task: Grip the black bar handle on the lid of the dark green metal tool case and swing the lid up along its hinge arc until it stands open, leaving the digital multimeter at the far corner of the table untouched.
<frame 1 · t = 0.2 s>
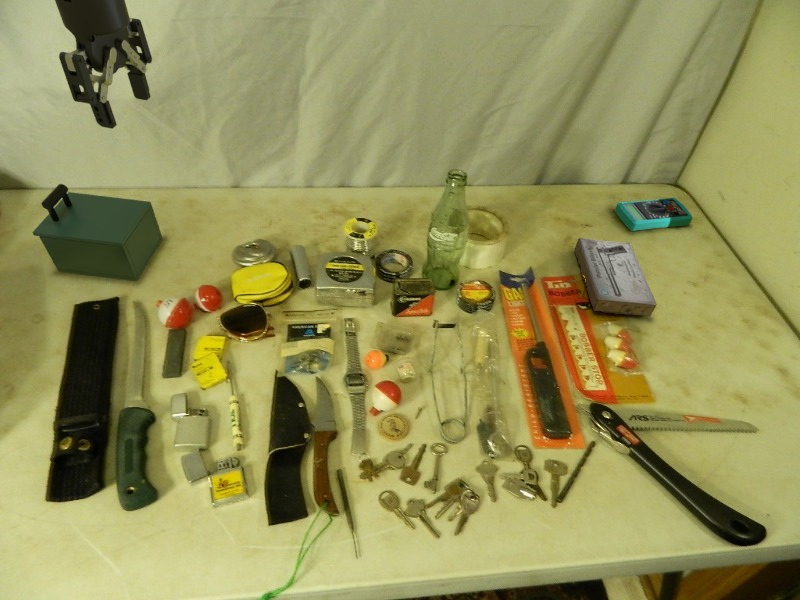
hand: (126, 112, 74), 28 cm above the table, tool pointing down, fingers open, 8 cm apart
box: (608, 283, 98), on the table
digital multimeter: (650, 219, 113), on the table
case: (112, 255, 94), on the table
lid: (90, 208, 86), point 10 cm above the table, hinge at 0.0°
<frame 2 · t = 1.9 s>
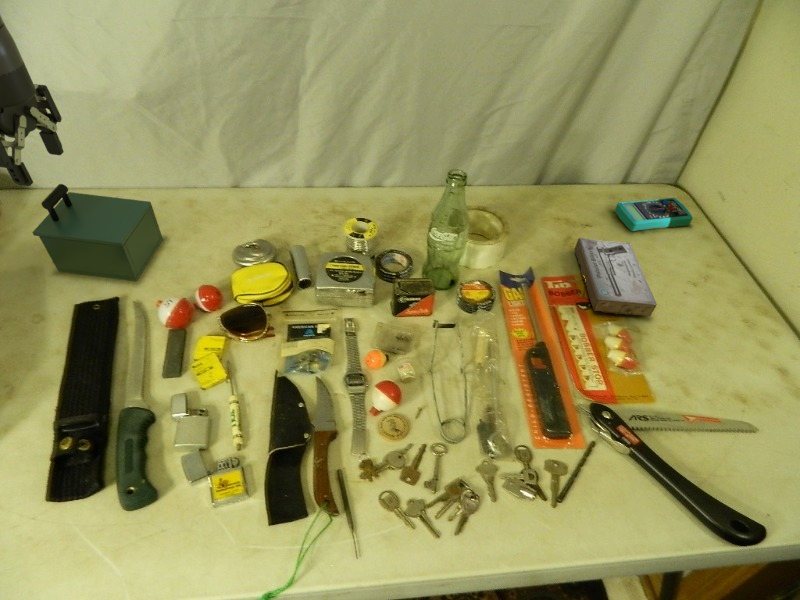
hand: (41, 168, 82), 17 cm above the table, tool pointing down, fingers open, 8 cm apart
nothing on the table moved.
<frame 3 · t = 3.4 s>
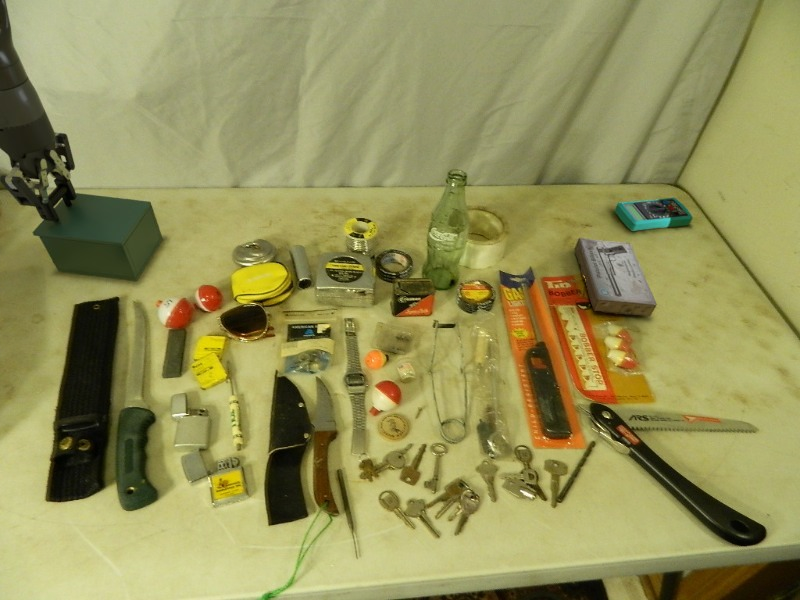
hand: (60, 208, 87), 9 cm above the table, tool pointing down, fingers closed on lid, 5 cm apart
lid: (90, 208, 86), point 10 cm above the table, hinge at 0.0°, touching gripper
everything else where it was.
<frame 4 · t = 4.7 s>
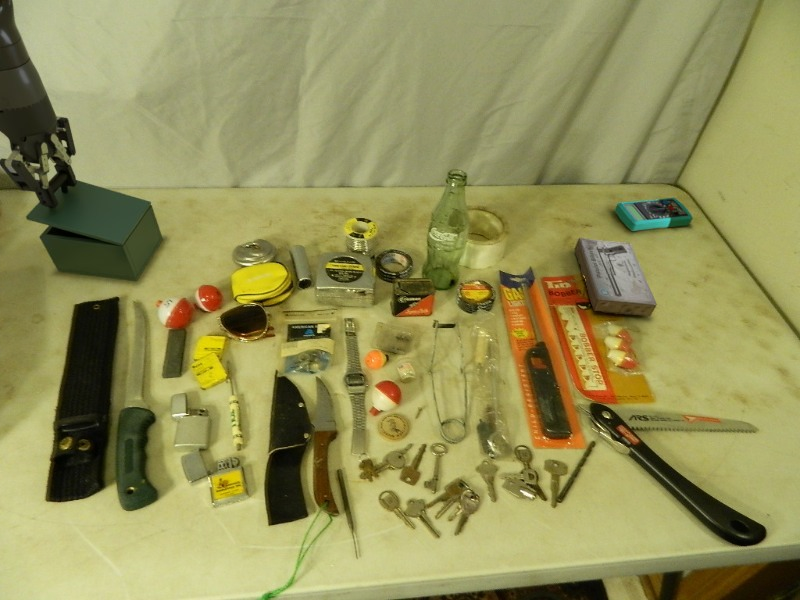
hand: (60, 194, 85), 12 cm above the table, tool pointing down, fingers closed on lid, 5 cm apart
lid: (90, 200, 85), point 12 cm above the table, hinge at 13.2°, touching gripper
everything else where it was.
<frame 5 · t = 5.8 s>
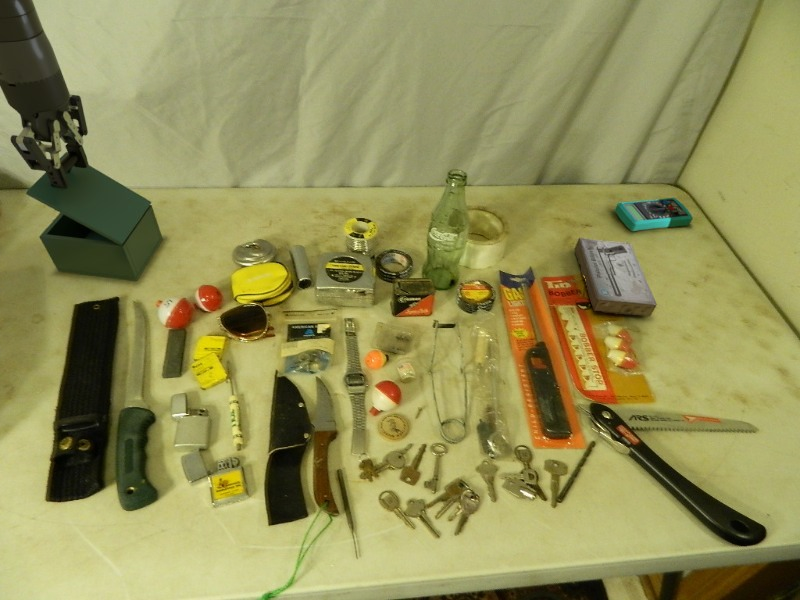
hand: (72, 176, 82), 16 cm above the table, tool pointing down, fingers closed on lid, 5 cm apart
lid: (97, 190, 84), point 14 cm above the table, hinge at 35.3°, touching gripper
everything else where it was.
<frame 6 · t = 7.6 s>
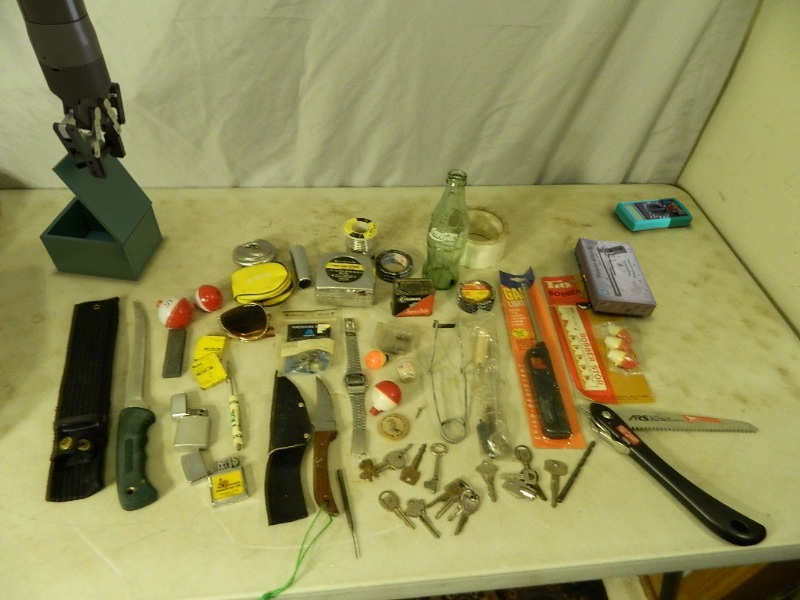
hand: (109, 166, 80), 19 cm above the table, tool pointing down, fingers closed on lid, 5 cm apart
lid: (117, 184, 82), point 16 cm above the table, hinge at 66.9°, touching gripper
everything else where it was.
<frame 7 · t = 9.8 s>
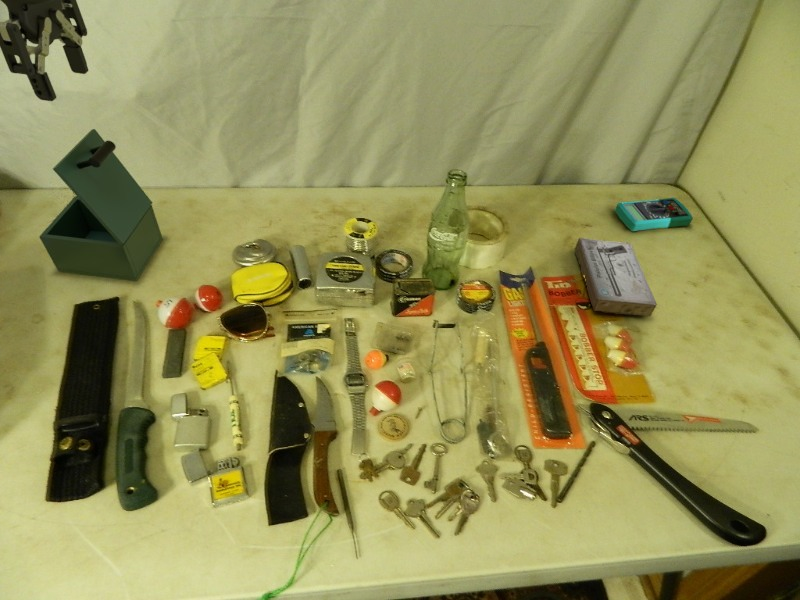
hand: (65, 85, 74), 30 cm above the table, tool pointing down, fingers open, 8 cm apart
lid: (117, 184, 82), point 16 cm above the table, hinge at 67.5°
everything else where it was.
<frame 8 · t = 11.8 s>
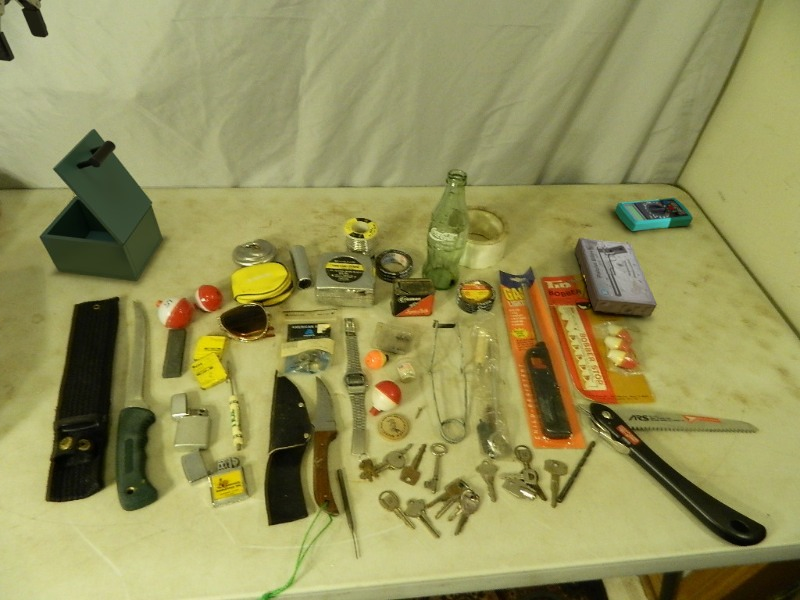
hand: (24, 47, 76), 32 cm above the table, tool pointing down, fingers open, 8 cm apart
nothing on the table moved.
at the end: lid at +68° (first picture: +0°); digital multimeter moved 0.2 cm from its start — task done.
